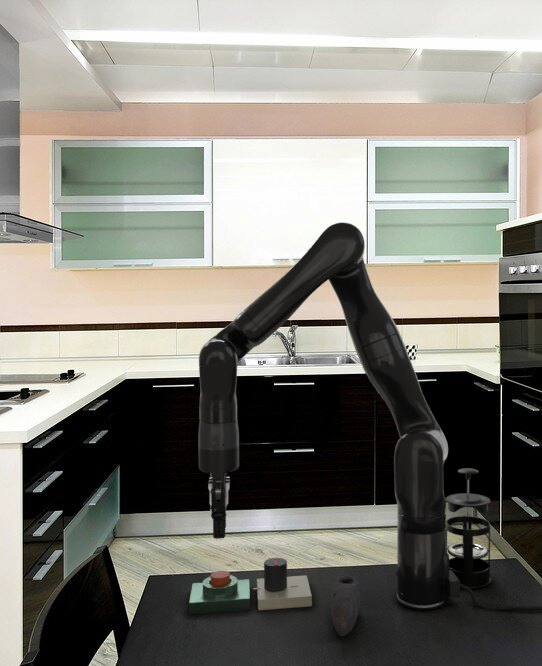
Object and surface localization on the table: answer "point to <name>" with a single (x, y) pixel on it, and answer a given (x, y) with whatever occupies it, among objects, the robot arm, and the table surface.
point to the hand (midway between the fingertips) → (219, 532)
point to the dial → (275, 574)
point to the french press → (469, 538)
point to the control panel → (285, 594)
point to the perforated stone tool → (345, 602)
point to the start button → (220, 578)
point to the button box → (219, 596)
